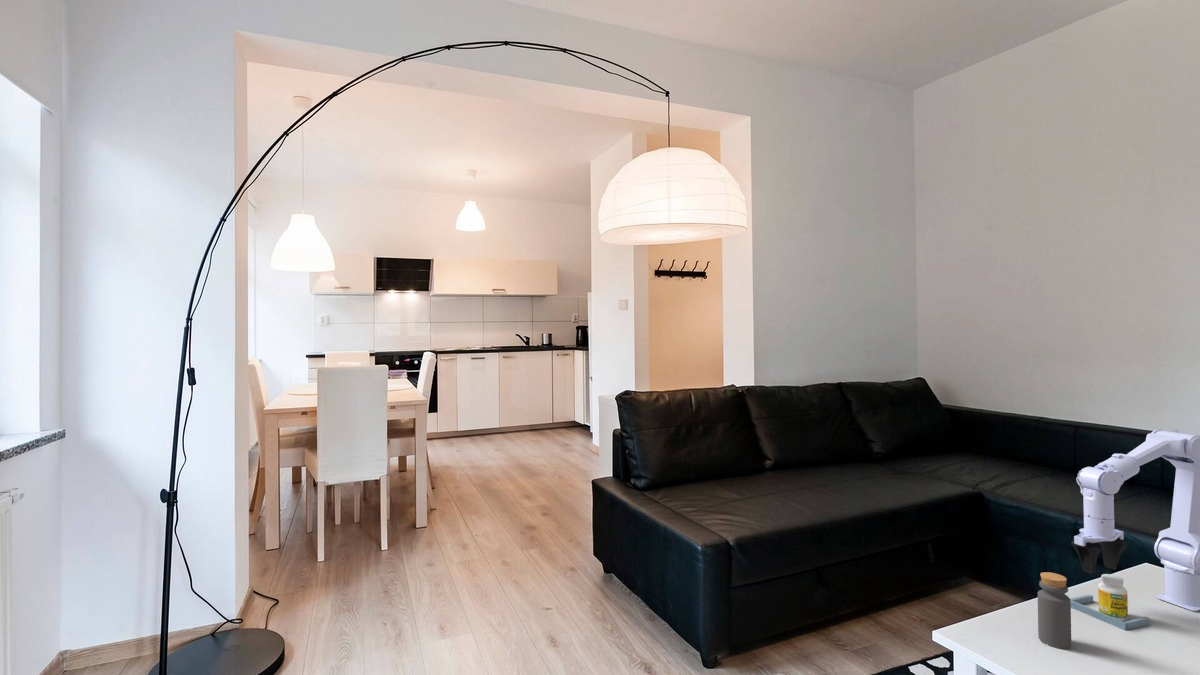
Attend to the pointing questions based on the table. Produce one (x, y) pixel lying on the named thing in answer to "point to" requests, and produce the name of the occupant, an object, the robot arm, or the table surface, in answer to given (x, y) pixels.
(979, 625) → the table surface
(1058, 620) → the bottle
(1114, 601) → the supplement bottle
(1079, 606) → the blue-grey u-shaped bracket
